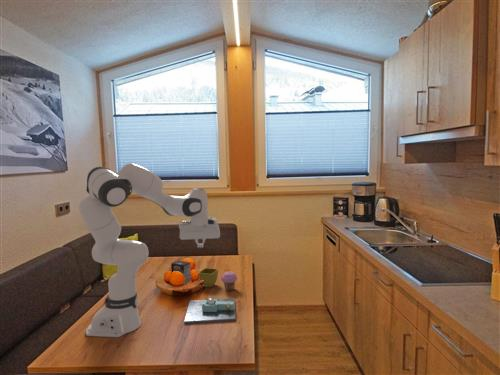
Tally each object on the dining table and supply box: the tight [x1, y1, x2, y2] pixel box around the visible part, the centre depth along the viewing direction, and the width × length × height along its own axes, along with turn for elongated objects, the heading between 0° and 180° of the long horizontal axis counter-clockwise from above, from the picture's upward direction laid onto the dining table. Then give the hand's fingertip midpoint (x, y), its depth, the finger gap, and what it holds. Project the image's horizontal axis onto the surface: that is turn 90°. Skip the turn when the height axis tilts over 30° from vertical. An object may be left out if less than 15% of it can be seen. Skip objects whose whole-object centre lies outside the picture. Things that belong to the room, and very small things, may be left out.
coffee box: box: [170, 260, 192, 285], centre depth 183 cm, size 9×6×16 cm
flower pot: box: [198, 267, 219, 288], centre depth 189 cm, size 9×9×9 cm
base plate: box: [183, 297, 237, 325], centre depth 157 cm, size 23×22×6 cm
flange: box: [202, 298, 234, 312], centre depth 156 cm, size 14×7×3 cm, turn 84°
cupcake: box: [220, 271, 238, 292], centre depth 183 cm, size 9×9×10 cm
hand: (200, 247), depth 164 cm, fingers closed
